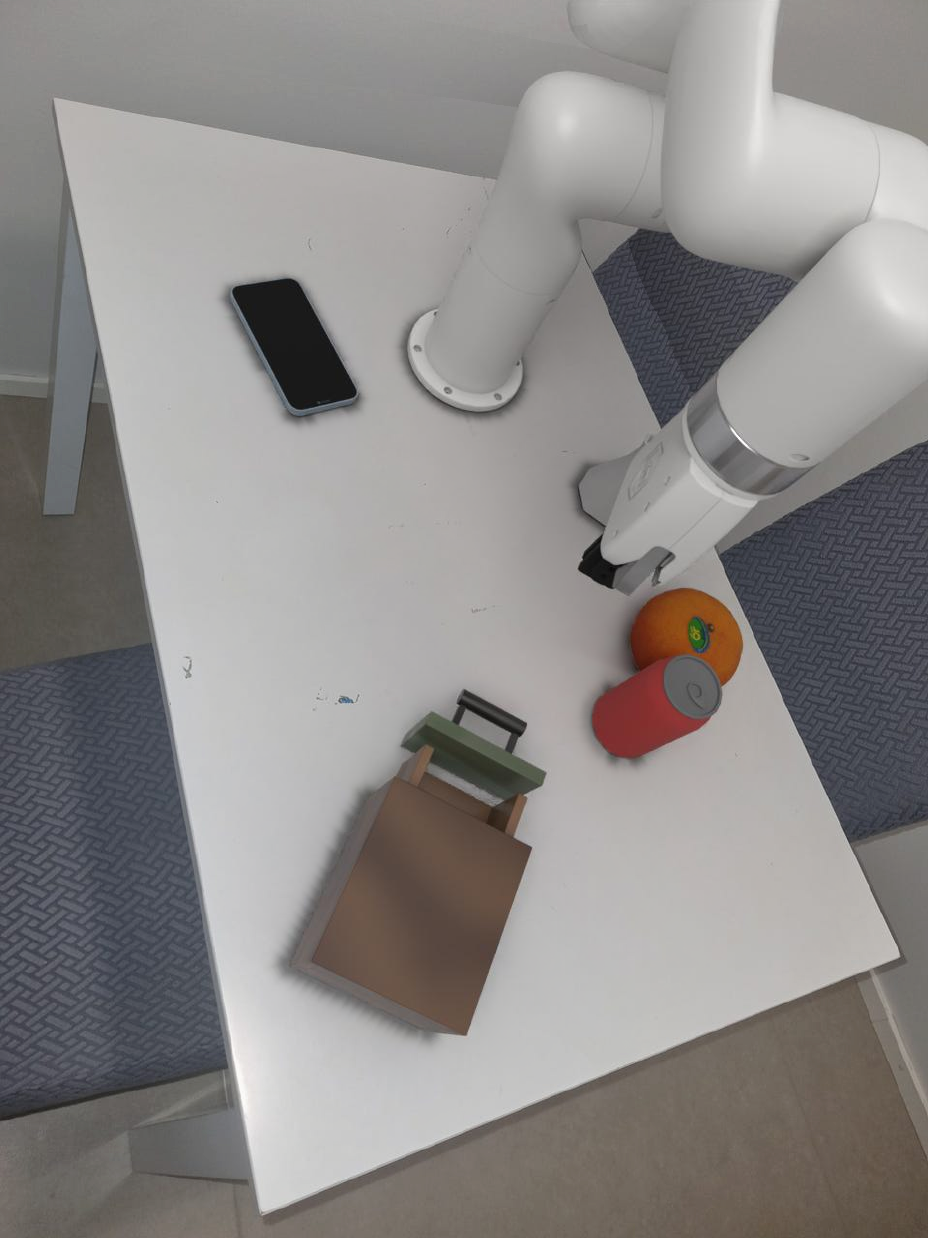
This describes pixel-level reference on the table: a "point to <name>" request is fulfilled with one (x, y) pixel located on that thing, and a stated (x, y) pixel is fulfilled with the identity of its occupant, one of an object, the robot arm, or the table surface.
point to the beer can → (657, 706)
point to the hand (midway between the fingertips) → (597, 571)
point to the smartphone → (293, 345)
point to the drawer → (472, 763)
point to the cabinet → (414, 909)
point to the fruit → (687, 631)
